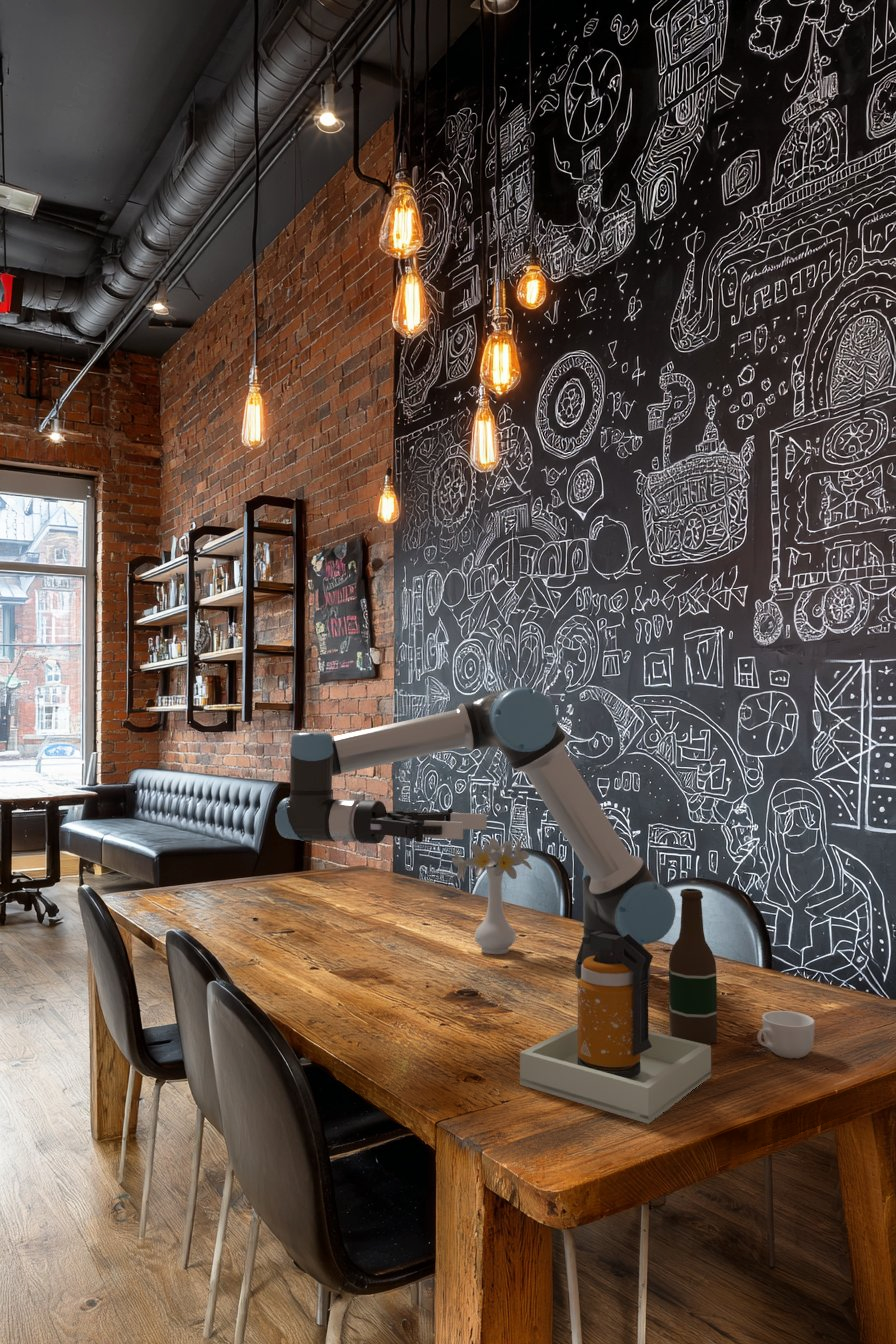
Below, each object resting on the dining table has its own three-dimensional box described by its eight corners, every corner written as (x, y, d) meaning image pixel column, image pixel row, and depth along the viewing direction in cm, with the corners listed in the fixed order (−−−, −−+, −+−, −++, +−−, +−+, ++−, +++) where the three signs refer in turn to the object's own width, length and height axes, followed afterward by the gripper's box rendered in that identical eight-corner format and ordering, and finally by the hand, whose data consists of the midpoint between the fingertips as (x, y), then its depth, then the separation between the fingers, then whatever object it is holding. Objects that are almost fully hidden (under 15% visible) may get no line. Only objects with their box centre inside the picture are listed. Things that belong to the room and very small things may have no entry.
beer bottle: (684, 1048, 145) (683, 895, 146) (659, 1032, 152) (658, 886, 153) (727, 1043, 147) (725, 892, 148) (701, 1028, 154) (699, 884, 156)
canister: (598, 1056, 138) (598, 922, 139) (664, 1075, 131) (664, 934, 132) (565, 1073, 131) (565, 932, 133) (633, 1094, 124) (633, 945, 125)
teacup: (789, 1042, 148) (788, 1008, 148) (826, 1058, 141) (826, 1022, 141) (741, 1051, 144) (740, 1016, 144) (776, 1068, 137) (776, 1031, 137)
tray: (591, 1046, 146) (590, 1017, 146) (711, 1077, 133) (710, 1045, 133) (519, 1084, 130) (519, 1052, 130) (648, 1123, 117) (648, 1088, 118)
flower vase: (443, 950, 206) (444, 838, 208) (514, 941, 214) (514, 834, 216) (470, 963, 195) (470, 845, 196) (543, 954, 203) (543, 840, 204)
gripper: (387, 834, 173) (494, 839, 166) (328, 852, 150) (451, 858, 143) (387, 794, 174) (494, 798, 167) (328, 806, 150) (451, 810, 143)
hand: (474, 826), depth 155 cm, fingers open, 13 cm apart
